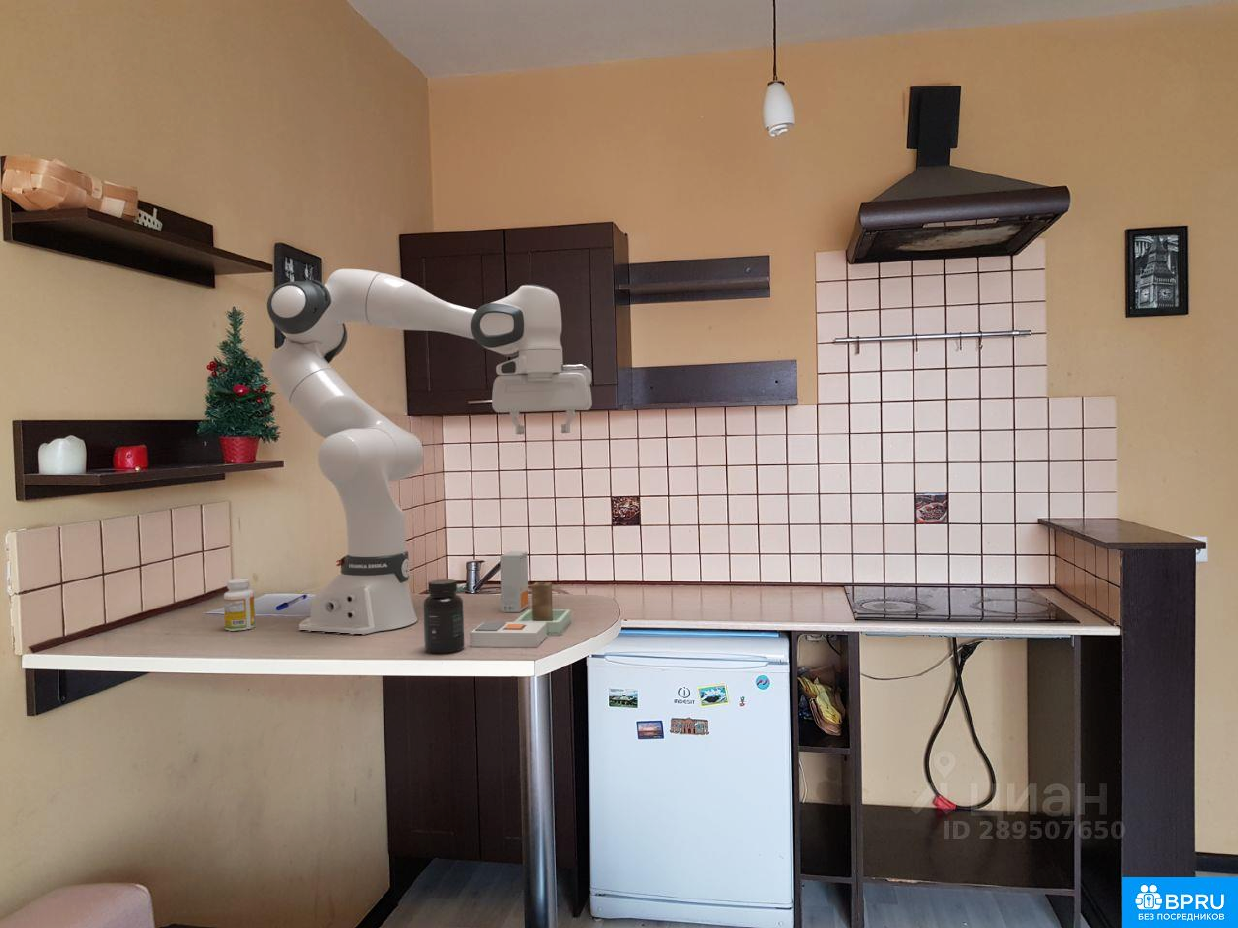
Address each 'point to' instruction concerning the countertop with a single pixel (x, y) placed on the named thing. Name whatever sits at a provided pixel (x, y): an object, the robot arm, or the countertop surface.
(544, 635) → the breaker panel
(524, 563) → the skincare box
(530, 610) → the bay tray
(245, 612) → the supplement bottle
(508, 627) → the button
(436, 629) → the supplement bottle
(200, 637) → the countertop surface
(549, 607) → the wooden block
